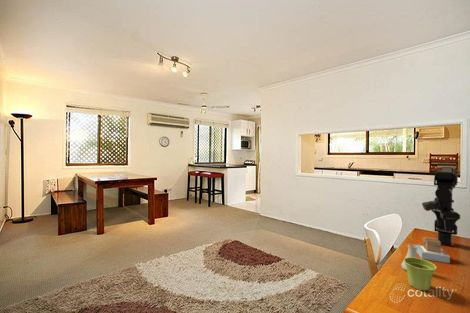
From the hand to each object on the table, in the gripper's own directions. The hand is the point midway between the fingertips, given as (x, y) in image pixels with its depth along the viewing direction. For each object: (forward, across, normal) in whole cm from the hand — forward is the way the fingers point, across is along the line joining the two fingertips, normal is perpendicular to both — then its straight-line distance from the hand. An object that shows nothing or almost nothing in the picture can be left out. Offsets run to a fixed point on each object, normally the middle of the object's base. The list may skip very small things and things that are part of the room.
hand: (443, 228), depth 116 cm
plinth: (+12, +9, -7) cm, 16 cm away
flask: (+12, +28, -19) cm, 36 cm away
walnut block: (+8, +9, -7) cm, 14 cm away
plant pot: (+12, +42, -20) cm, 48 cm away
